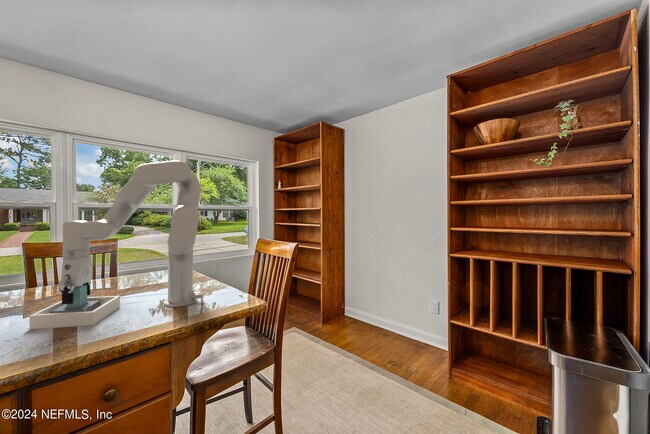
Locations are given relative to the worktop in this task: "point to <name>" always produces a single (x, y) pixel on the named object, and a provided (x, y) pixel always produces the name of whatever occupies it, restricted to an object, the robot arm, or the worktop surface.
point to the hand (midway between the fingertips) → (76, 299)
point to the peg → (79, 297)
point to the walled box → (74, 313)
